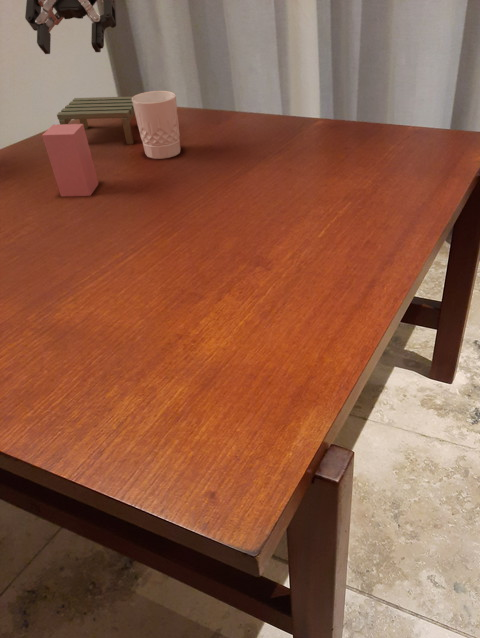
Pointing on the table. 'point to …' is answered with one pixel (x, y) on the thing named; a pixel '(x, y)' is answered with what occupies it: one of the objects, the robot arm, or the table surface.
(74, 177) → the pink box
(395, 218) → the table surface
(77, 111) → the rack
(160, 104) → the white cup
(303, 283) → the table surface
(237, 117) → the table surface
